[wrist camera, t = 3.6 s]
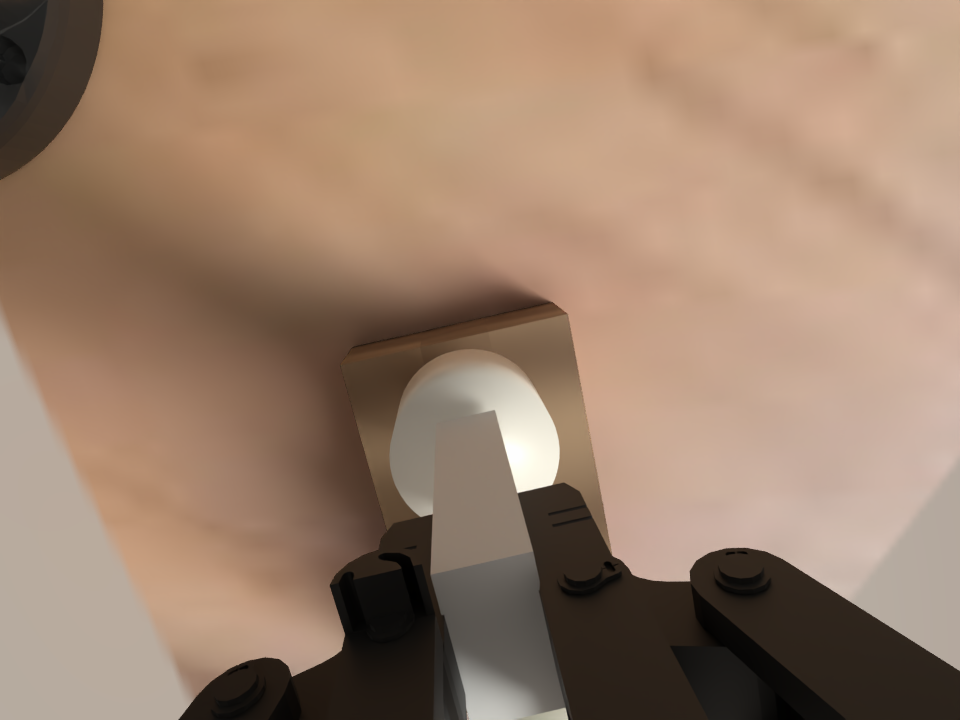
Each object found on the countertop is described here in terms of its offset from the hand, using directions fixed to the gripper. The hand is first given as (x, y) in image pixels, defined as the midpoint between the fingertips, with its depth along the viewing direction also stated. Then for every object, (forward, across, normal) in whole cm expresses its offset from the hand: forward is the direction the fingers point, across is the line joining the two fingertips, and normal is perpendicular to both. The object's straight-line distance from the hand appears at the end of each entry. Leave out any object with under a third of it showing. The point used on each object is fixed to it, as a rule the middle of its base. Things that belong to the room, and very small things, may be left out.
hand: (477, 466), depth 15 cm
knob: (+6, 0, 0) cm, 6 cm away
